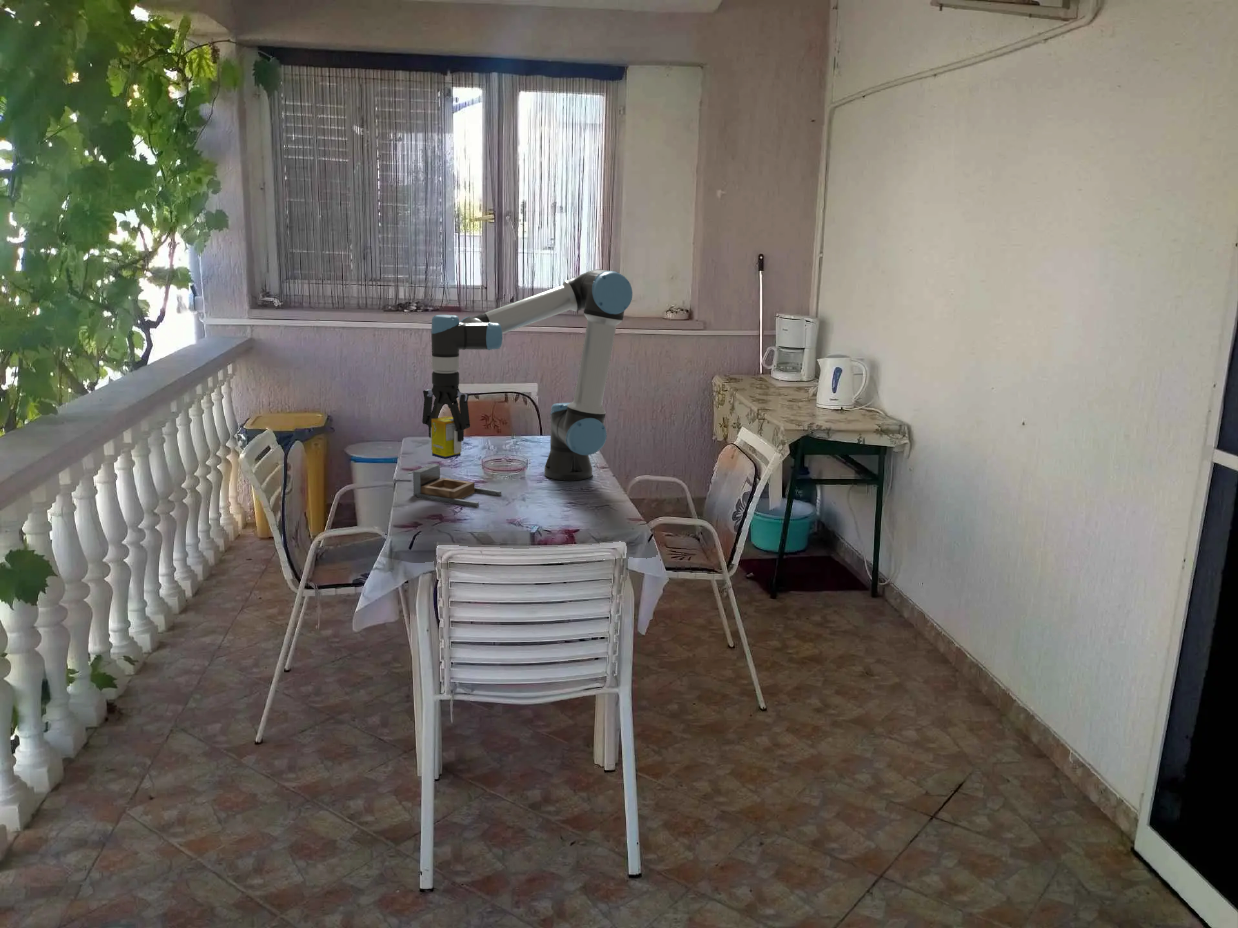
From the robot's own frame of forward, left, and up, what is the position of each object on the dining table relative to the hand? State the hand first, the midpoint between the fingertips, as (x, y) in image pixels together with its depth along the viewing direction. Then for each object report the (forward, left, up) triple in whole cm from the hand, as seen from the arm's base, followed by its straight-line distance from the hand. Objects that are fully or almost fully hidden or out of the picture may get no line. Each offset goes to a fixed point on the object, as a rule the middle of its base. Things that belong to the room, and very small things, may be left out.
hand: (446, 450), depth 265 cm
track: (-3, 0, -13) cm, 13 cm away
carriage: (0, 0, -13) cm, 13 cm away
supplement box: (0, 0, -2) cm, 2 cm away
